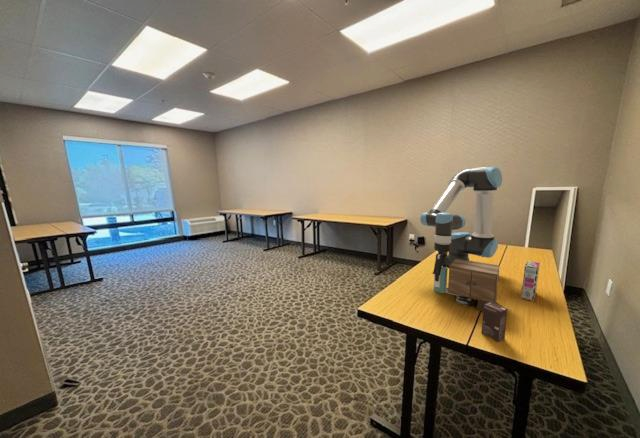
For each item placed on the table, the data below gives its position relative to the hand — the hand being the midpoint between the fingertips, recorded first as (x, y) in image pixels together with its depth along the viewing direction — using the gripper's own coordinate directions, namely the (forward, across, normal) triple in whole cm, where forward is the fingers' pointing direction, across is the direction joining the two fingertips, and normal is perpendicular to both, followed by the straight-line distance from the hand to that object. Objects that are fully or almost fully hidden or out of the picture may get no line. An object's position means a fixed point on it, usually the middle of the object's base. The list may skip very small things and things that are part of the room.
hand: (440, 282), depth 127 cm
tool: (+4, 0, +7) cm, 8 cm away
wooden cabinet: (+4, +5, +15) cm, 16 cm away
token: (+5, +8, +12) cm, 15 cm away
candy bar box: (+4, -19, +36) cm, 41 cm away
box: (+5, +30, +25) cm, 39 cm away
